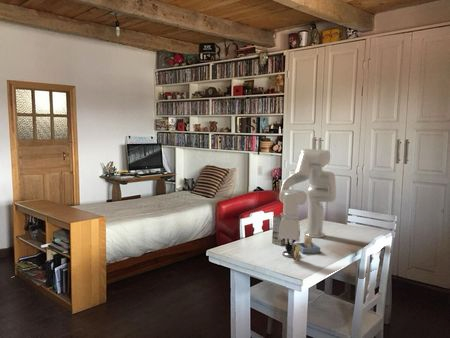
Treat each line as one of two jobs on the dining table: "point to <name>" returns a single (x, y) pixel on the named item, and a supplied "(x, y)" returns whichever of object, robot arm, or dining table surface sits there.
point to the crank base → (289, 255)
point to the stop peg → (307, 242)
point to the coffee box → (277, 231)
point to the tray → (308, 249)
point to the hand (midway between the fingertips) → (288, 251)
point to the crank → (295, 251)
